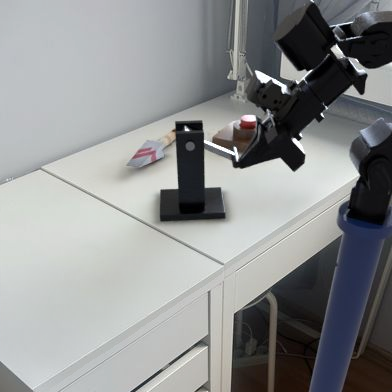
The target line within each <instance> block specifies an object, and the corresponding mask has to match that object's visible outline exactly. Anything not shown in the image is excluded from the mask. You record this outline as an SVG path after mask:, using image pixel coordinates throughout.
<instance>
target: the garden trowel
mask: <svg viewBox="0 0 392 392" xmlns="http://www.w3.org/2000/svg"><path fill="white" fill-rule="evenodd" d="M174 141H176V136H175V127H174V128H173V129H172V130H171V131H169V132H167V134H165V135H163V136H162V137H161V138H159V139H158V140H157V141H155V140H151V139H146V141H145V142H144V143H143V144H142V145H141V146H140V148H139V149H138V150H137V151H136V152H135V153H134V155H132V157H131V158H130V160H128V162H127V163H126V164H125V166H126V167H131V168H137V169H139V168H142V167H144V166H146V165H149V164H151V163H153V162H155V161H157V160H160V159H162V158H164V157H165V153H164V149H165V148H166V147H167V146H169V145H170V144H171V143H172V142H174Z"/></svg>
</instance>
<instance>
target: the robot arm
mask: <svg viewBox="0 0 392 392" xmlns="http://www.w3.org/2000/svg"><path fill="white" fill-rule="evenodd" d="M271 37H272V38H271V40H272V42H273V43H274V44H275V46H276V47H277V48H278V49H279V50H280V52H281V53H282V54H283V55H284V57H285V58H286V60H288V61H289V63H290V64H291V65H292V67H293V68H294V69H295V71H297V72H302V71H305V72H307V74H305V76H304V77H302V79H301V80H299V81H297V79H294V80H293V79H292V80H291V81H289V83H288V84H283V83H282V82H280V81H278V80H277V79H275V78H273V77H270V76H269V75H266V74H265V73H263V72H261V71H259V70H254V71H253V74H252V76H251V77H250V80H249V81H248V83H247V86H246V88H245V89H244V93H246V99H247V100H248V101H249V102H250V103H252V104H254V105H255V107H256V108H260V109H261V110H262V111H263V112H264V114H262V115H261V116H259V115H258V114H255V116H256V117H255V119H256V128H255V133H254V135H253V137H252V138H251V140H250V142H249V143H248V145H247V147H246V148H245V150H244V152H242V153H241V155H240V157H239V162H240V166H239V169H240V170H243V169H246V168H250V167H253V166H256V165H259V164H262V163H265V162H269V161H274V160H276V159H281V160H282V161H283V163H284V164H285V165H286V166H287V167H288V168H289V169H290V170H291V171H292V172H293V173H296V171H298V170H299V169H300V168H301V167H302V166H304V165H305V162H306V152H305V150H304V148H303V145H302V144H301V142H300V141H301V140H302V139H303V136H302V133H303V132H304V131H305V130H306V129H307V128H308V127H309V126H310V125H311V124H312V123H313V122H315V121H316V122H317V123H318V124H320V123H321V122H322V121H323V120H324V119H325V116H324V115H323V113H324V112H326V111H327V110H328V109H329V108H330V107H331V106H332V105H333V104H334V103H335V102H336V101H338V99H339V98H341V97H342V96H343V95H344V94H345V93H346V92H348V90H350V89H351V88H352V87H354V89H355V90H356V91H357V93H358V95H360V96H364V95H365V93H366V85H367V84H366V83H367V79H368V77H369V74H368V73H367V72H366V70H364V69H368V70H376V69H379V68H382V67H384V66H387V65H389V64H391V63H392V10H382V11H381V10H380V11H367V12H366V11H365V12H363V13H361V14H359V15H357V16H356V17H355V18H354V20H353V21H350V22H344V23H339V24H333V25H330V24H329V23H328V22H327V21H326V19H325V18H324V16H323V15H322V13H321V10H320V8H319V7H318V5H317V4H316V3H315V2H314V0H307V2H306V3H305V4H304V5H301V6H300V7H298V8H296V10H294V11H293V12H291V13H290V14H287V15H286V16H285V17H284V18H283V19H282V21H281V22H280V23H279V24H278V26H277V28H276V29H275V31H274V33H273V34H272V36H271ZM334 46H335V47H336V48H337V49H338V50H339V51H340V53H341V54H342V55H343V56H340V57H337V56H336V54H335V53H334V51H333V48H334ZM349 58H350V59H354V60H356V61H357V63H358V64H359V65H360V66H362V67H363V68H364V69H357V68H356V66H355V65H354V63H353V62H352V61H351V60H350V59H349ZM358 134H359V135H357V136H356V137H355V138H354V139H352V142H351V145H350V148H349V150H348V151H349V152H348V154H349V155H348V156H349V159H350V161H351V163H352V164H353V166H354V168H355V170H356V171H357V173H358V174H359V177H358V178H357V179H356V182H355V183H354V184H353V186H352V187H351V190H350V196H349V199H348V200H349V204H348V209H350V210H349V212H348V213H347V217H349V218H353V219H357V220H361V221H365V222H369V223H373V224H377V225H383V224H384V222H385V221H386V219H387V217H388V215H389V214H390V212H391V210H392V207H391V205H392V122H389V123H388V122H387V121H386V120H385V118H384V117H379V118H378V119H376V120H375V121H374V122H373V123H372V124H370V125H369V126H368V127H366V128H364V129H361V130H358Z"/></svg>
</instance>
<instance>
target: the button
mask: <svg viewBox="0 0 392 392" xmlns="http://www.w3.org/2000/svg"><path fill="white" fill-rule="evenodd" d="M255 117H256V115H253V114H245V115H241V116H240V120H241V121H240V127H241V128H245V129H254V128H256V119H255Z"/></svg>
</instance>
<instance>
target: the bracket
mask: <svg viewBox="0 0 392 392" xmlns="http://www.w3.org/2000/svg"><path fill="white" fill-rule="evenodd" d="M184 125H185V126H187V127H190V128H192V129H194V130H197V131H182V130H183V127H184ZM174 128H175V136H176V139H175V153H176V154H175V155H176V173H177V188H165V189H164V188H163V189H162V188H161V189H160V190H159V193H160V194H159V222H179V221H180V222H181V221H201V220H202V221H205V220H206V221H208V220H209V221H210V220H225V219H226V208H225V203H224V196H223V190H222V189H223V188H222V187H221V186H215V187H214V186H213V187H206V184H205V183H206V180H205V179H206V175H205V174H206V173H205V172H206V171H205V169H206V168H205V167H206V166H205V165H206V164H205V162H206V161H205V149H204V140H205V130H204V121H203V119H198V120H196V119H195V120H175V121H174Z"/></svg>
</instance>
